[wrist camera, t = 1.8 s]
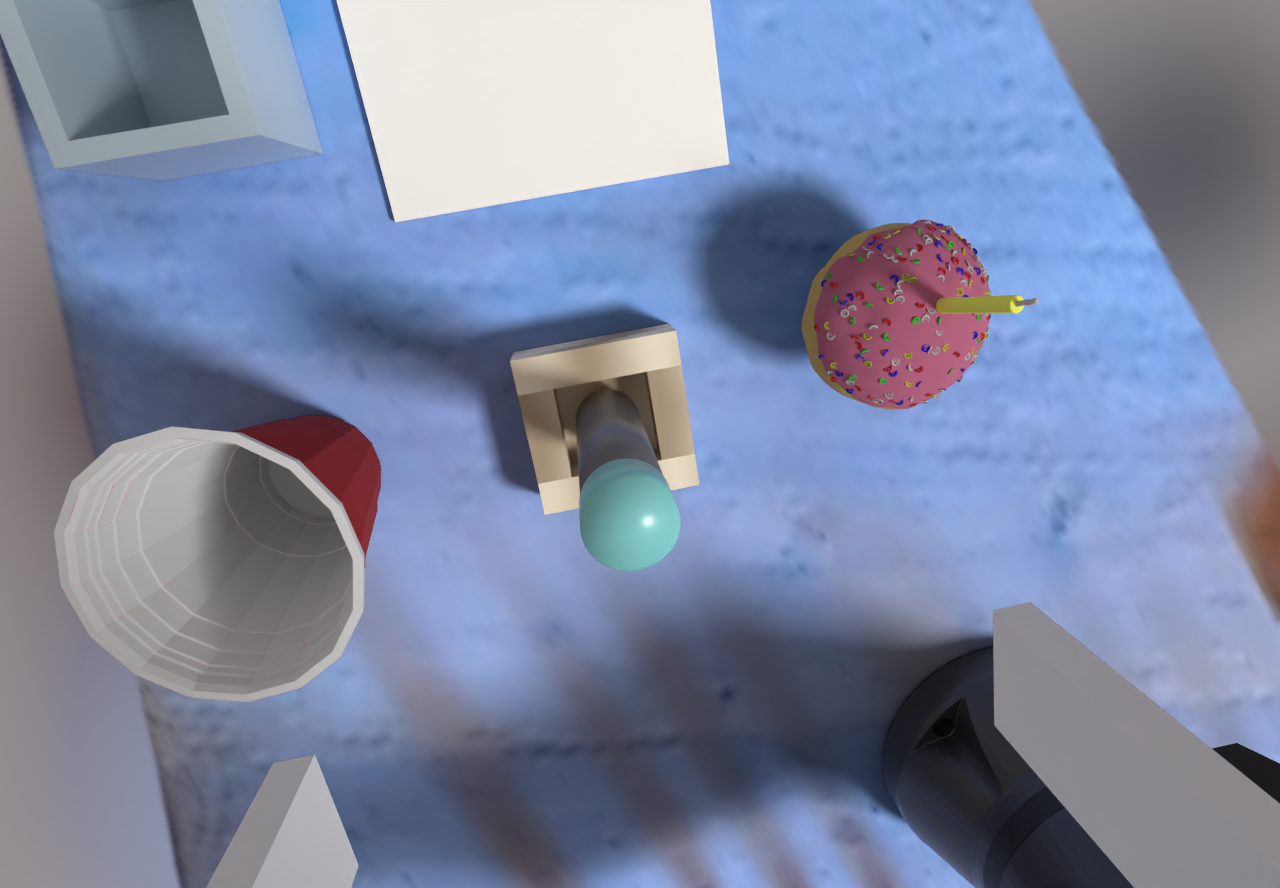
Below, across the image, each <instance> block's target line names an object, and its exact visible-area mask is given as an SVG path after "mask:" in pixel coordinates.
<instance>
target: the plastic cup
mask: <svg viewBox="0 0 1280 888" xmlns="http://www.w3.org/2000/svg"><path fill="white" fill-rule="evenodd" d="M380 488H381V465H380V461H379V459H378V457H377V454H376V452H375V450H374V447H373V445H372V443H371V442H370V441H369V440H368V439H367V438H366V437H365V436H364V435H363V434H362V433H361V432H360V431H359V430H358V429H357V428H356V427H355V426H353V425H350V424H348V423H346V422H344V421H342V420H339V419H337V418H335V417H327V416H314V415H304V416H300V417H297V418H293V419H290V420H285V419H282V420H278V421H274V422H270V423H266V424H261V425H257V426H253V427H249V428H245V429H241V430H237V431H233V432H228V431H217V430H207V429H196V428H186V427H168V428H165V429H161V430H158V431H154V432H151V433H148V434H144V435H141V436H138V437H134V438H131V439H128V440H124V441H121V442H117V443H114V444H112V445H111V446H110V447H109V448H108V449H107V450H106V451H104V452H103V453H102V454H101V455H100V456H99V457H98V458H97V459H96V460H95V461H93V462H92V463H91V464H90V465H89V466H88V467H87V468H86V469H85V470H84V471H82V472H81V473H80V474H79V475H78V476H77V477H76V478H75V479H74V480H73V481H72V482H71V485H70V487H69V490H68V493H67V496H66V499H65V501H64V505H63V507H62V510H61V513H60V516H59V519H58V521H57V524H56V527H55V530H54V537H55V546H56V554H57V562H58V570H59V578H60V585H61V588H62V589H63V591H64V593H65V595H66V596H67V598H68V600H69V602H70V603H71V605H72V607H73V608H74V610H75V612H76V613H77V615H78V617H79V618H80V620H81V622H82V624H83V626H84V627H85V629H86V631H87V633H88V634H89V636H90V637H91V638H92V639H93V640H95V641H96V642H97V643H98V644H99V645H101V646H102V647H103V648H104V649H105V650H106V651H108V652H109V653H110V654H111V655H112V656H114V657H115V658H116V659H117V660H118V661H119V662H121V663H122V664H123V665H124V666H125V667H127V668H128V669H129V670H130V671H131V672H132V673H134V674H135V675H136V676H139V677H141V678H144V679H146V680H149V681H151V682H153V683H156V684H158V685H161V686H163V687H166V688H168V689H170V690H173V691H175V692H178V693H180V694H183V695H185V696H188V697H190V698H199V699H212V700H225V701H238V702H251V701H255V700H259V699H262V698H266V697H270V696H273V695H277V694H281V693H284V692H288V691H292V690H295V689H299V688H301V687H303V686H304V685H305V684H306V683H308V682H309V681H310V680H312V679H313V678H314V677H315V676H317V675H318V674H319V673H320V672H322V671H323V670H324V669H326V668H327V667H328V666H329V665H331V664H332V663H333V662H335V661H336V660H337V659H338V658H340V657H341V655H342V653H343V651H344V649H345V647H346V645H347V643H348V641H349V639H350V637H351V635H352V633H353V631H354V629H355V627H356V625H357V623H358V621H359V619H360V617H361V615H362V613H363V609H364V568H365V556H366V552H367V548H368V545H369V541H370V537H371V533H372V529H373V525H374V521H375V517H376V513H377V500H378V496H379V492H380Z"/></svg>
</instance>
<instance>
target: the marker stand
mask: <svg viewBox="0 0 1280 888" xmlns="http://www.w3.org/2000/svg"><path fill="white" fill-rule="evenodd" d="M510 364H511V368H512V372H513V377H514V381H515V386H516V390H517V394H518V399H519V403H520V407H521V412H522V416H523V420H524V425H525V429H526V434H527V438H528V442H529V447H530V451H531V455H532V460H533V464H534V469H535V473H536V477H537V482H538V486H539V490H540V495H541V499H542V504H543V508H544V512H545V515H547V514H552V513H557V512H562V511H567V510H573V509H578V508H579V498H580V488H579V471H578V453H577V436H576V413H577V410H578V408H579V406H580V404H581V402H582V401H583V400H584V399H585V398H586V397H587V396H588V395H590V394H592V393H593V392H596V391H599V390H604V389H612V390H617V391H620V392H622V393H624V394H625V395H627V396H628V397H629V398H630V399H631V400H632V401H633V402H634V404H635V406H636V408H637V410H638V413H639V415H640V418H641V420H642V423H643V425H644V428H645V431H646V433H647V436H648V438H649V441H650V443H651V446H652V448H653V451H654V453H655V456H656V458H657V461H658V463H659V466H660V468H661V471H662V473H663V476H664V477H665V479H666V481H667V482H668V485H669V487H670V490H675V489H680V488H685V487H690V486H695V485H699V479H698V472H697V466H696V459H695V452H694V446H693V439H692V432H691V426H690V419H689V412H688V406H687V399H686V393H685V386H684V379H683V373H682V366H681V359H680V353H679V346H678V339H677V333H676V330H675V329H674V328H673V327H672V326H671V325H670V324H663V325H658V326H653V327H647V328H642V329H636V330H631V331H625V332H620V333H615V334H609V335H604V336H598V337H593V338H587V339H582V340H577V341H571V342H566V343H560V344H555V345H549V346H544V347H539V348H533V349H528V350H522V351H517V352H513V355H512V357H511V360H510Z"/></svg>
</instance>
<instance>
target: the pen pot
mask: <svg viewBox="0 0 1280 888" xmlns="http://www.w3.org/2000/svg"><path fill="white" fill-rule="evenodd" d="M0 34H1V37H2V39H3V42H4V44H5V47H6V49H7V52H8V54H9V57H10V59H11V62H12V64H13V67H14V69H15V72H16V74H17V77H18V79H19V82H20V84H21V87H22V89H23V91H24V94H25V96H26V99H27V101H28V104H29V106H30V109H31V111H32V114H33V116H34V119H35V121H36V124H37V126H38V129H39V131H40V134H41V136H42V139H43V141H44V144H45V146H46V149H47V151H48V154H49V156H50V159H51V161H52V164H53V166H54V169H60V170H69V171H78V172H87V173H96V174H105V175H114V176H122V177H131V178H140V179H149V180H158V181H166V180H172V179H178V178H184V177H190V176H196V175H202V174H207V173H213V172H219V171H225V170H231V169H237V168H243V167H249V166H255V165H261V164H267V163H273V162H279V161H285V160H291V159H297V158H303V157H309V156H315V155H321V154H323V151H322V147H321V144H320V140H319V137H318V133H317V130H316V126H315V123H314V119H313V116H312V112H311V109H310V105H309V102H308V98H307V95H306V91H305V88H304V84H303V81H302V77H301V74H300V70H299V67H298V63H297V60H296V56H295V53H294V50H293V46H292V43H291V39H290V36H289V32H288V29H287V25H286V22H285V18H284V15H283V11H282V8H281V4H280V1H279V0H0Z"/></svg>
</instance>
